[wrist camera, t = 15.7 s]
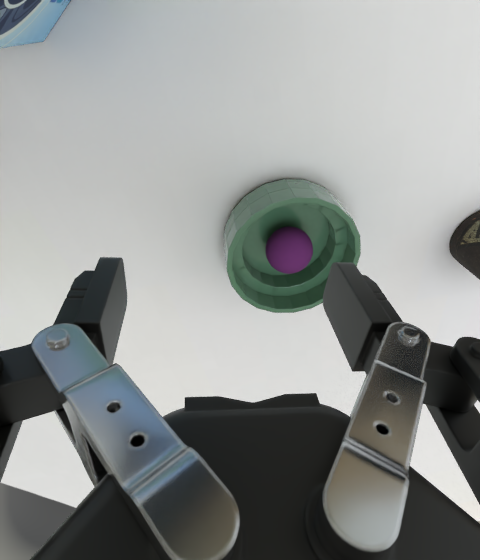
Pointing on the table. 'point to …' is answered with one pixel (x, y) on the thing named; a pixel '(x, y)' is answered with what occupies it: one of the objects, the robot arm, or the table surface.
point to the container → (468, 244)
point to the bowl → (272, 216)
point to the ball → (289, 250)
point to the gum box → (28, 20)
